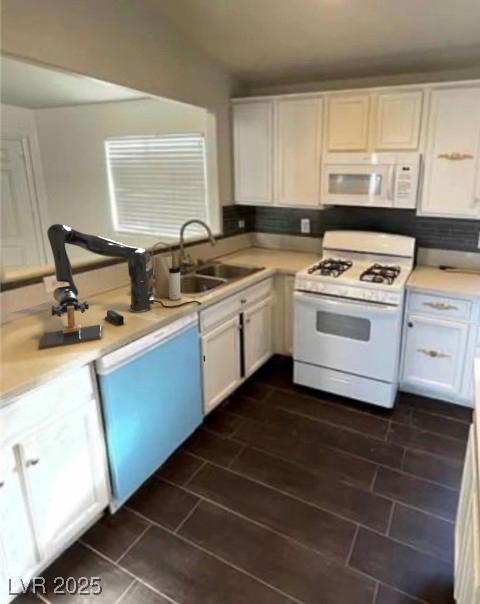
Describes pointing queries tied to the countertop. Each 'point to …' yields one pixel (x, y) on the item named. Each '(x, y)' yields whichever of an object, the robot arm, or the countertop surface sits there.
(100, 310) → the countertop surface
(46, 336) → the slate board
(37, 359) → the countertop surface
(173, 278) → the travel mug
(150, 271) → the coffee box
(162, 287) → the tall beige box
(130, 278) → the robot arm
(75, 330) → the brush
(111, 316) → the dark green rounded bar
